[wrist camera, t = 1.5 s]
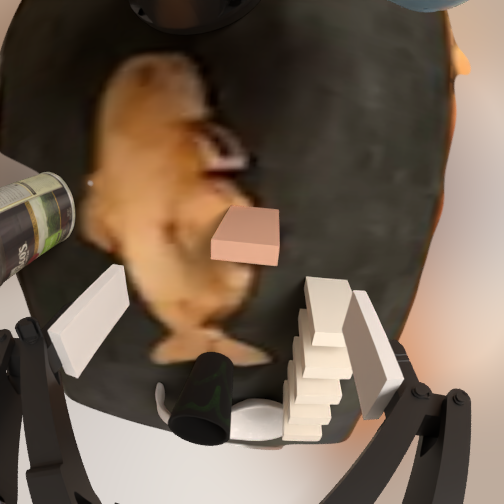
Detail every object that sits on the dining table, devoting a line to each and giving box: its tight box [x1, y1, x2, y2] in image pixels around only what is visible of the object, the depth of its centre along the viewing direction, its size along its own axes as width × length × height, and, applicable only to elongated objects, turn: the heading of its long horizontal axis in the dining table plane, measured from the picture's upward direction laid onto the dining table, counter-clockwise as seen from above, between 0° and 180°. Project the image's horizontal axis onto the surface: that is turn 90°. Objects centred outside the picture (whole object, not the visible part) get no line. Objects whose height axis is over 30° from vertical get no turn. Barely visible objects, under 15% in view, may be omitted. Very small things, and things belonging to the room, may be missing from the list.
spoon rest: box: [155, 383, 283, 441], centre depth 41 cm, size 24×12×7 cm, turn 83°
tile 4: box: [287, 360, 331, 425], centre depth 34 cm, size 2×5×10 cm, turn 86°
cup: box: [168, 352, 234, 446], centre depth 34 cm, size 8×8×12 cm
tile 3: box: [292, 336, 342, 404], centre depth 32 cm, size 2×5×10 cm, turn 86°
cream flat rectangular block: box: [282, 380, 322, 441], centre depth 36 cm, size 2×5×10 cm, turn 86°
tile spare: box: [211, 205, 280, 266], centre depth 26 cm, size 2×5×10 cm, turn 85°
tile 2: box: [298, 309, 353, 379], centre depth 30 cm, size 2×5×10 cm, turn 86°
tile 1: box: [304, 277, 352, 347], centre depth 29 cm, size 2×5×10 cm, turn 86°
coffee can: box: [0, 172, 75, 286], centre depth 25 cm, size 10×10×14 cm
